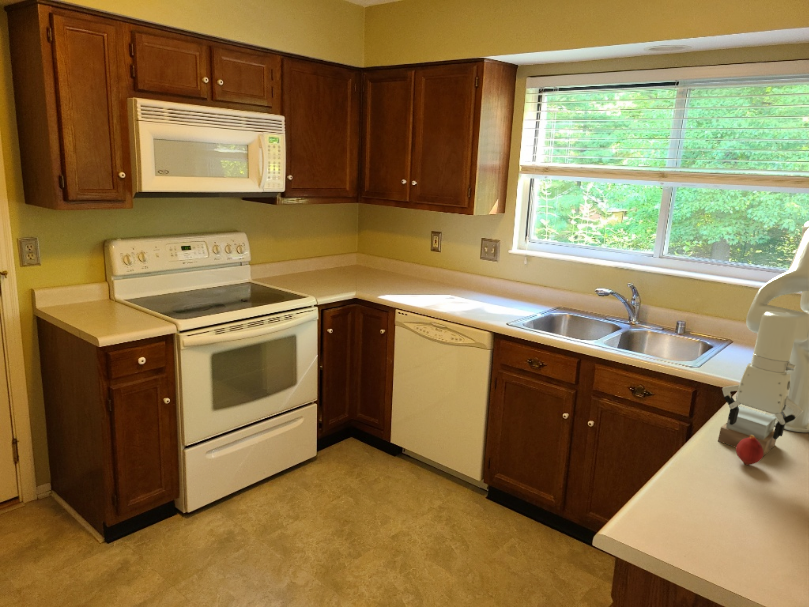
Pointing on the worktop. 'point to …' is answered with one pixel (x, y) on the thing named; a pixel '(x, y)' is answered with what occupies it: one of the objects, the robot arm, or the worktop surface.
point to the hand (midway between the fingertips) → (753, 430)
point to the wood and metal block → (750, 429)
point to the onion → (749, 450)
